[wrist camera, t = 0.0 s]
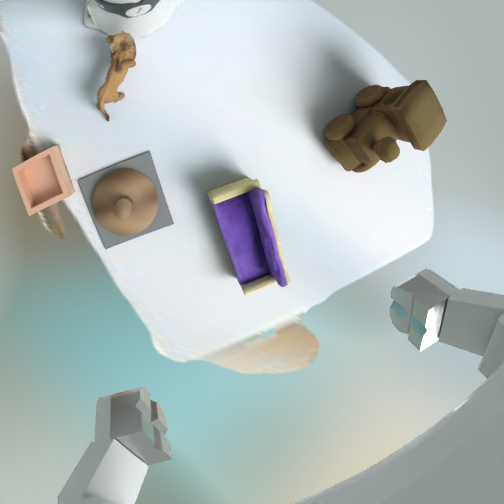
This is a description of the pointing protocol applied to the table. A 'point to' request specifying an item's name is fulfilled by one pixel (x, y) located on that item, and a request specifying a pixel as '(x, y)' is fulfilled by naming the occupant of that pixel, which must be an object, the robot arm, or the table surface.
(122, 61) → the lion figurine
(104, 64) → the table surface
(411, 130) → the wooden toy train
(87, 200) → the mat
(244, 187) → the toy sofa
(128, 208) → the lid
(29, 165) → the open box
